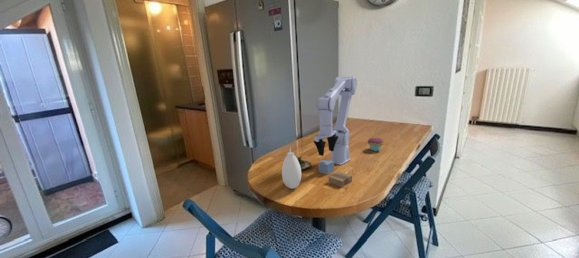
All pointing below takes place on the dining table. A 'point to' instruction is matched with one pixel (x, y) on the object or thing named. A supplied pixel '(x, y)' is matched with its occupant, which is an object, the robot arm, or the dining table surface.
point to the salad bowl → (303, 162)
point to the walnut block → (340, 179)
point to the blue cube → (326, 166)
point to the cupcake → (375, 143)
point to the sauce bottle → (291, 171)
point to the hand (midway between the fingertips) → (326, 152)
